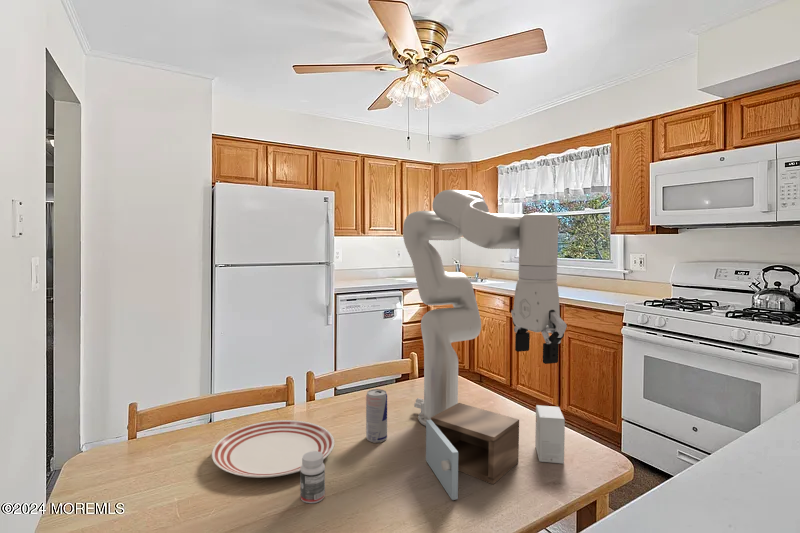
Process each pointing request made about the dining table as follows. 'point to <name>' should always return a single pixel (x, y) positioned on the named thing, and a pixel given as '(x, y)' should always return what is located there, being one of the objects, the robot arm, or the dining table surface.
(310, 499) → the pill bottle
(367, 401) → the energy drink
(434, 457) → the side door
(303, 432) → the dinner plate
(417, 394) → the dining table surface
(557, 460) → the small box
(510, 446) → the cabinet
